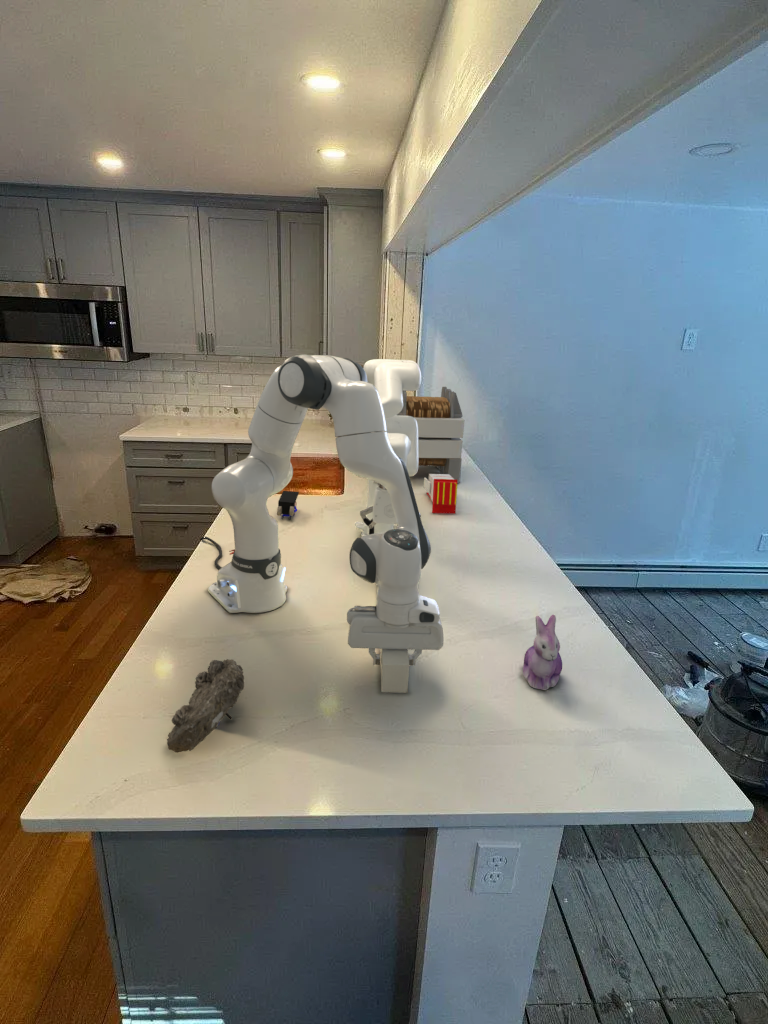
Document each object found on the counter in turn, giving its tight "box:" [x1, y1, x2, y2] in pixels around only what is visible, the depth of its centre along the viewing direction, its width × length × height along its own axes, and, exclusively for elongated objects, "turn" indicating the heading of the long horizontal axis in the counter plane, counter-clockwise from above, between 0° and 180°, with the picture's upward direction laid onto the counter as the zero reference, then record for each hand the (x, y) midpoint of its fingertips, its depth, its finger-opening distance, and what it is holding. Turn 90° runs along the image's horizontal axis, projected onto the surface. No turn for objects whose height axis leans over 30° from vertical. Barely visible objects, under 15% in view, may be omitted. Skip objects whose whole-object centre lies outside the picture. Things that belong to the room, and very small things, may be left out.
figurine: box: [522, 614, 563, 691], centre depth 121 cm, size 9×10×15 cm
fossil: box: [166, 658, 245, 754], centre depth 106 cm, size 22×10×15 cm
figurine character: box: [276, 490, 300, 521], centre depth 211 cm, size 7×8×15 cm
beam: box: [379, 649, 410, 694], centre depth 144 cm, size 60×5×7 cm, turn 1°
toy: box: [423, 473, 458, 515], centre depth 232 cm, size 12×13×30 cm
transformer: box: [397, 386, 465, 484], centre depth 268 cm, size 34×33×41 cm
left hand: (394, 663), depth 122 cm, fingers open, 6 cm apart
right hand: (389, 540), depth 164 cm, fingers open, 9 cm apart
